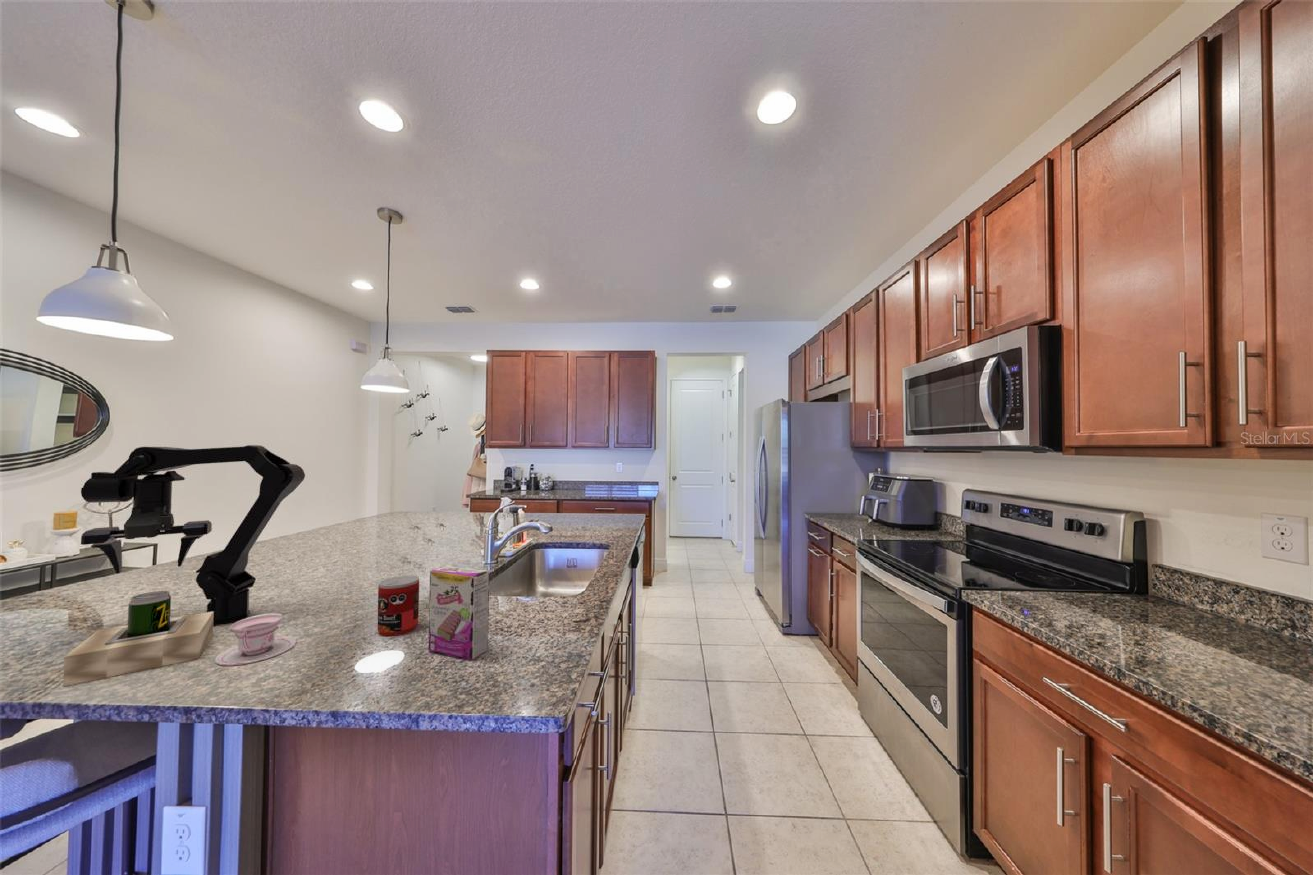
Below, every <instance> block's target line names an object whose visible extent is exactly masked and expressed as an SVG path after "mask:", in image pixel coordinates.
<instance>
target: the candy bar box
mask: <svg viewBox="0 0 1313 875" xmlns="http://www.w3.org/2000/svg"><path fill="white" fill-rule="evenodd" d="M428 606H429V608H428V609H429V611H428V612H429V613H428V614H429V616H428V623H429V624H428V652H429V653H433V654H439V655H443V656H448V657H453V658H458V659H463V660H467V661H474V660H476V659H477V658H478V657H480V656H482V655H483V654H485V653H487V652H489V620H490V618H489V612H490V611H489V609H490V570H487V569H481V568H480V569H479V568H472V567H465V566H458V565H448V564H447V565H443V566H441V567H437V568H434V569H432V570H430V571H429V605H428Z"/></svg>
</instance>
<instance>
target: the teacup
mask: <svg viewBox="0 0 1313 875" xmlns="http://www.w3.org/2000/svg"><path fill="white" fill-rule="evenodd" d="M283 619H284V616H283V614H281V613H275V612H270V613H263V614H257V615H253V616H248V618H245V619H242V620H240V621H235V622H234V623H233V624H231V625H230V626H229V629H230V632H232V633H233V634H235V636H234V637H236V638H237V640H238V643H237V644H238V645H234V646H233V647H230V648H228V649H225V650H223V651H222V652H221V653H218V655H217V656H216V657H215V658H214V662H215V664H216V665H220V666H227V667H228V666H230V667H231V666H242V665H246V664H247V665H248V664H252V663H253V664H254V663H257V662H262V661H264V660H268V659H271V658H274V657H277V656H280V655H282V654H284V653H286V652H288V651H290V650H291V649H292V648H294V647H295V646H296V644H297V640H296V638H294V637H291V636H275V633H276V631H277V630H278V629H279V626H278V625H279V624H281V623H282V621H283ZM269 647H272V649H271V650H272V651H271V650H269V651H267V650H268V649H269ZM266 651H267V652H266ZM242 654H245V655H246V656H242ZM266 655H268V656H266Z"/></svg>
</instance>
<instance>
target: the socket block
mask: <svg viewBox="0 0 1313 875" xmlns="http://www.w3.org/2000/svg"><path fill="white" fill-rule="evenodd" d="M213 619H214V611H212V612H207V611H206V612H202V613H201V612H200V613H195V614H190V615H181V616H176V617H175V616H174V617H170V630H169V631H166V632H160V633H154V634H148V635H142V636H137V637H131V638H127V630H128V624H127V625H121V626H120V625H119V626H113V627H107V628H101V629H97V630H96V631H95V632H93V634H90V636H88V637H87V638H86V639H85V640H84V641H82V642H81V643H80V644H78V645H77V646H76V647H75V648H73V650H70V652H69V653H67V654H66V655H65V656H64V661H63V663H64V664H63V679H62V680H63V681H62V687H69V686H72V685H77V684H82V683H86V682H87V683H88V682H91V681H92V682H93V681H97V680H103V679H107V678H111V677H115V676H116V675H117V676H121V674H122V675H126V674H125V673H127V674H131V673H135V672H136V673H137V672H141V671H146V670H151V669H155V668H160V667H165V665H166V666H170V664H171V665H176V664H180V663H185V662H189V661H194V660H199V659H200V657H201V655H202V654H203V652H204V650H205V648H206V647H207V646H208V644H209V642H210V640H211V638H212V637H213V636H214V625H213ZM117 676H116V677H117Z"/></svg>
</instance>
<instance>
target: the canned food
mask: <svg viewBox="0 0 1313 875" xmlns="http://www.w3.org/2000/svg"><path fill="white" fill-rule="evenodd" d="M377 588H378V590H377V591H378V592H377V593H378V595H377V632H378V634H379V635H380V636H383V637H394V636H400V635H404V634H407V633H409V632H411V631H414V630H415V629H416V628H417V627H418V624H419V614H420V613H419V612H420V610H419V609H420V606H419V605H420V603H419V602H420V578H419V576H415V575H400V576H394V577H389V578H386V579H383V580H381V581H379V583H378V587H377Z"/></svg>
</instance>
